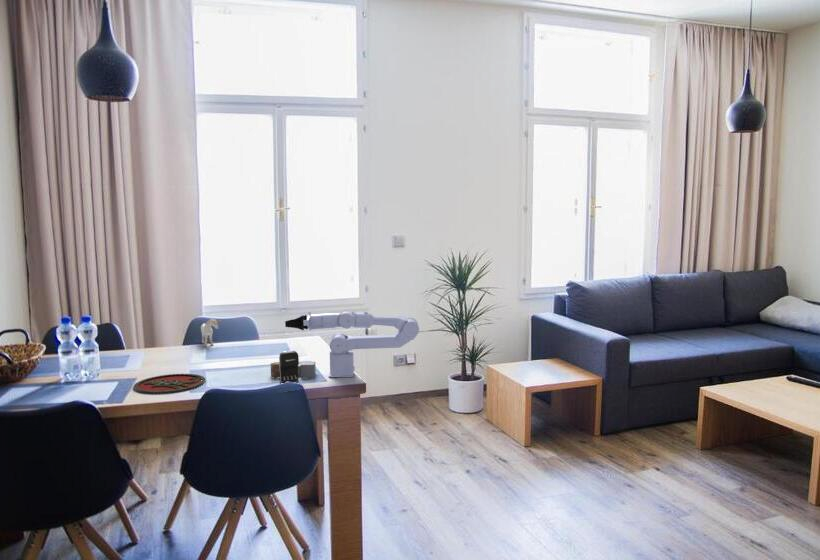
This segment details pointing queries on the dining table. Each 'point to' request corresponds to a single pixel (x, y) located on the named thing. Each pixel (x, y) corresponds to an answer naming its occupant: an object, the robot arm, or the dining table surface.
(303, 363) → the charcoal cube
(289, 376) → the battery
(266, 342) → the dining table surface
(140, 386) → the decorative plate
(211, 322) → the unicorn figurine
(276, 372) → the walnut cylinder
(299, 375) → the olive block
